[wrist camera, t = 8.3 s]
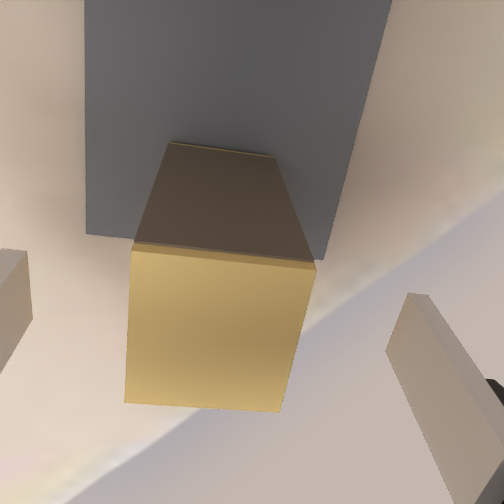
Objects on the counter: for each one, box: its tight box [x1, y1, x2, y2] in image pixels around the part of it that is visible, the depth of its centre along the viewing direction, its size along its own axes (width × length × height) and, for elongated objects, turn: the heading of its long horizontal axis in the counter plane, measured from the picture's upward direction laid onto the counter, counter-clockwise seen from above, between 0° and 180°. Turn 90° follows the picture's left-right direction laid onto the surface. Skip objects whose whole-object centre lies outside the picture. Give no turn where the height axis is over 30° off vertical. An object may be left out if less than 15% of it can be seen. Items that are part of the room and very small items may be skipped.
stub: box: [124, 142, 317, 413], centre depth 20 cm, size 6×6×12 cm
